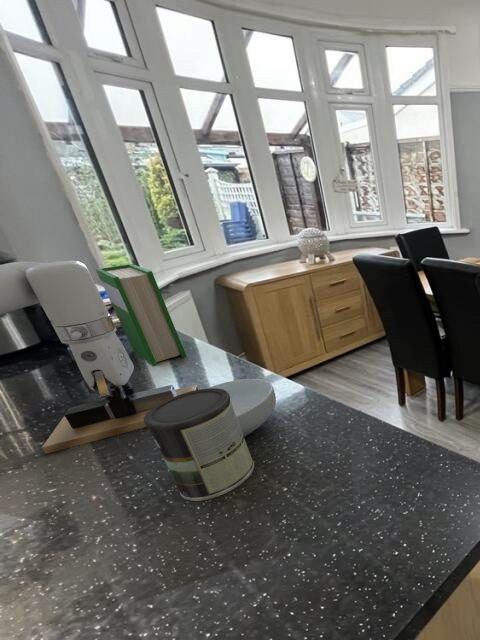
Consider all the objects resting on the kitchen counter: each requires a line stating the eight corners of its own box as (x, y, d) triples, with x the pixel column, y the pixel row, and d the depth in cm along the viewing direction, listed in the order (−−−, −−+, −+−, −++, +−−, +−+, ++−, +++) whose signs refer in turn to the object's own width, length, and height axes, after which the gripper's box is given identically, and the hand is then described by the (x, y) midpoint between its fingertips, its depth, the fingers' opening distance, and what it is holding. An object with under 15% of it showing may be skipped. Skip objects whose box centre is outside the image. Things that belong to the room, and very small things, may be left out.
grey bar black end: (178, 396, 86) (172, 383, 85) (176, 402, 83) (170, 389, 82) (77, 421, 78) (69, 407, 77) (72, 429, 76) (64, 415, 74)
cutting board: (45, 454, 71) (41, 447, 71) (67, 422, 81) (63, 416, 80) (194, 414, 82) (191, 408, 82) (198, 390, 91) (196, 384, 91)
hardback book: (186, 356, 109) (151, 271, 99) (153, 366, 104) (112, 277, 94) (165, 342, 119) (131, 263, 109) (133, 351, 113) (95, 269, 103)
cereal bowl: (234, 403, 86) (223, 375, 83) (300, 410, 82) (292, 381, 79) (155, 454, 70) (139, 422, 68) (233, 465, 67) (219, 432, 64)
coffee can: (170, 510, 58) (130, 433, 53) (190, 467, 67) (158, 396, 61) (249, 489, 62) (220, 414, 56) (259, 450, 71) (234, 382, 65)
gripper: (102, 337, 69) (144, 424, 76) (122, 312, 82) (157, 389, 89) (41, 348, 65) (92, 438, 73) (72, 320, 78) (113, 399, 85)
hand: (128, 410), depth 81 cm, fingers closed on grey bar black end, 3 cm apart
